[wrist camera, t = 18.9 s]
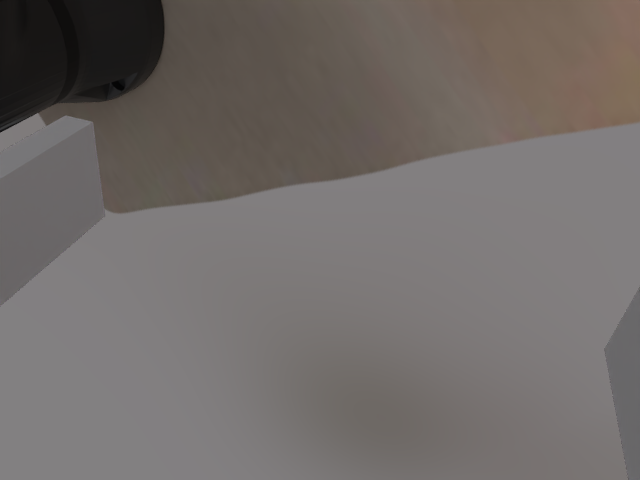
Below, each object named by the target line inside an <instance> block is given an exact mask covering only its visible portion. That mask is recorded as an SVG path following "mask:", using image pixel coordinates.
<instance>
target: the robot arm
mask: <svg viewBox="0 0 640 480" xmlns="http://www.w3.org/2000/svg"><path fill="white" fill-rule="evenodd" d="M163 29H164V26H163V14H162V8H161V3H160V0H0V132H2V131H4V130H6V129H8V128H10V127H12V126H14V125H15V124H17V123H19V122H21V121H23V120H25V119H27V118H29V117H30V116H33V115H35V114H36V113H38V112H40V111H42V110H44V109H46V108H48V107H50V106H52V105H54V104H56V103H82V102H103V101H108V100H111V99H115V98H117V97H120V96H122V95H123V94H125V93H127V92H129V91H131V90H132V89H134V88H136V87H137V86H139V85H140V84H142V83H143V82H144V81H145V80H146V79H147V78H148V76H149V75H150V74H151V72H152V71H153V69H154V68H155V66H156V64H157V61H158V59H159V56H160V53H161V48H162V43H163ZM104 216H105V210H104V203H103V195H102V187H101V180H100V172H99V164H98V157H97V149H96V141H95V134H94V126H93V122H91V121H87V120H83V119H79V118H74V117H70V116H66V115H65V116H63V117H62V118H60V119H58V120H56V121H54V122H53V123H51V124H49V125H47V126H46V127H44V128H42V129H40V130H39V131H37V132H35V133H33V134H31V135H30V136H28V137H26V138H24V139H22V140H21V141H19V142H17V143H15V144H14V145H12V146H10V147H8V148H6V149H5V150H3V151H1V152H0V306H1V305H2V304H4V303H5V302H6V301H7V300H8V299H9V298H11V297H12V296H13V295H14V294H15V293H16V292H17V291H19V290H20V289H21V288H22V287H23V286H24V285H26V284H27V283H28V282H29V281H30V280H31V279H33V278H34V277H35V276H36V275H37V274H38V273H39V272H41V271H42V270H43V269H44V268H45V267H46V266H48V265H49V264H50V263H51V262H52V261H53V260H55V259H56V258H57V257H58V256H59V255H60V254H61V253H63V252H64V251H65V250H66V249H67V248H69V247H70V246H71V245H72V244H73V243H74V242H76V241H77V240H78V239H79V238H80V237H81V236H82V235H84V234H85V233H86V232H87V231H88V230H89V229H91V228H92V227H93V226H94V225H95V224H96V223H97V222H99V221H100V220H101V219H102V218H103V217H104ZM604 351H605V356H606V362H607V367H608V372H609V378H610V383H611V389H612V394H613V399H614V405H615V410H616V416H617V421H618V426H619V432H620V437H621V443H622V448H623V453H624V459H625V464H626V469H627V475H628V480H640V287H639V289H638V291H637V293H636V294H635V296H634V298H633V300H632V302H631V303H630V305H629V307H628V309H627V310H626V312H625V314H624V316H623V317H622V319H621V321H620V322H619V324H618V326H617V328H616V330H615V331H614V333H613V335H612V337H611V338H610V340H609V342H608V344H607V345H606V347H605V349H604Z"/></svg>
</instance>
